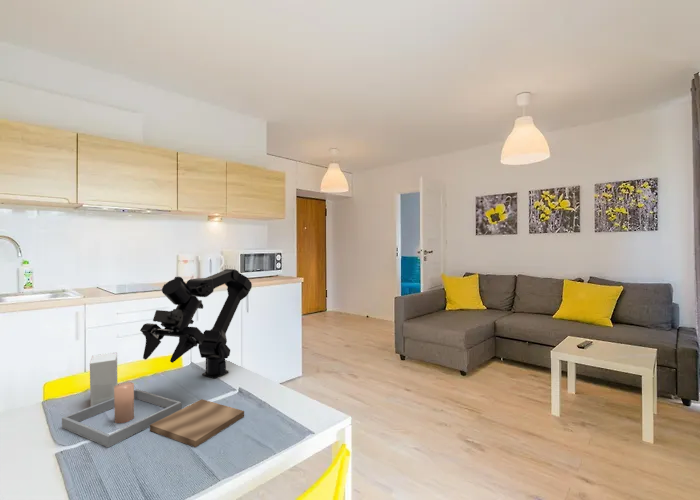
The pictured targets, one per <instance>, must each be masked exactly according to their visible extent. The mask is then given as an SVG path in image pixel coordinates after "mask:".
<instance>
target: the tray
mask: <svg viewBox="0 0 700 500" xmlns="http://www.w3.org/2000/svg"><path fill="white" fill-rule="evenodd" d="M134 400H140V401H143V402H146V403H149V404H153V405H154V406H159V407H162V408H163V409H161V410H159V411H157V412H155V413H152V414H150V415H148V416H146V417H144V418H141V419H139V420H137V421H135V422H133V423H132V424H129V425H126V426H125V427H122V428H121V429H118V430H117V431H114V432H111V433H106V432H105V431H101V430H99V429H96V428H94V427H92V426H90V425H86V424H85V423H82V421H84V420H87V419H89V418H92V417H94V416H97V415H100V414H102V413H105V412H107V411H109V410H111V409H114V398H112V399H110V400H107V401H105V402H102V403H99V404H97V405H94V406H92V407H90V406H89V407H86V408H84V409H81V410H79V411H75V412H73V413H70V414H68V415H66V416H63V417H62V418H61V428H62V429H65V430H66V431H69V432H71V433H74V434H75V435H79V436H81V437H83V438H85V439H88V440H90V441H92V442H95V443H97V444H99V445H101V446H104V447H106V448H111V447H112V446H114V445H116V444H119V443H120V442H122V441H124V440H126V439H128V438H131V437H132V436H134V435H136V434H138V433H140V432H142V431H144V430H146V429H149V428H150V425H151V424H153V423H155V422H157V421H159V420H161V419H163V418H165V417H167V416H169V415H171V414H173V413H175V412H177V411H179V410H181V409H182V402H181V401H179V400H175V399H171V398H169V397H168V398H167V397H165V396H162V395H158V394H155V393H153V392H152V393H151V392H147V391H145V390H141V389H139V388H138V389H137V388H136V389H134ZM141 430H142V431H141ZM139 431H140V432H139ZM137 432H138V433H137ZM135 433H136V434H135ZM133 434H134V435H133Z"/></svg>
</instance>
